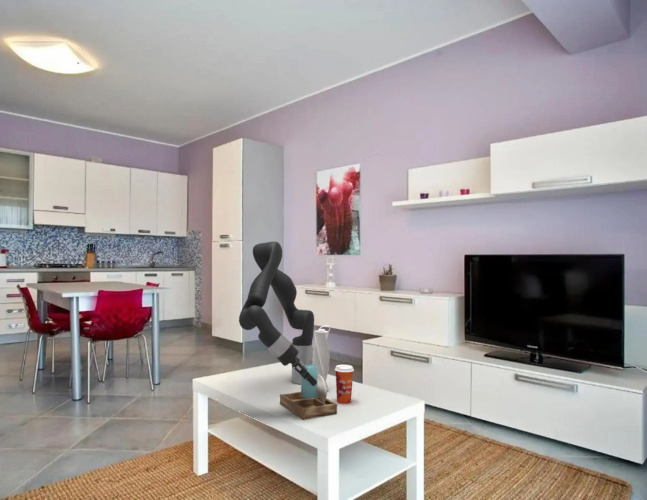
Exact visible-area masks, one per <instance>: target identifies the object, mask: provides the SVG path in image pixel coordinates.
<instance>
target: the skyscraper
mask: <svg viewBox="0 0 647 500" xmlns="http://www.w3.org/2000/svg"><path fill="white" fill-rule="evenodd" d="M323 327H328V328H329V329H328V330H326V329H324V328H323ZM331 328H332V326H331V325H328V324H327V325H321V326H320V327H319V328H318V330H315V329H314V331H313V337H314V343H313V348H312V361H313V364H315V365H318V375H320V376H322V378H323V379H324V381H325V384H326V390H327V393H328V392H329V391H330V390H329V388H328V384H327V380H328V379H327V378H328V375H329V368H330V359H331V358H330V348H329V342H328V340H329V335H330V330H331ZM310 364H311V363H310Z"/></svg>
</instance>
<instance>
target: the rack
mask: <svg viewBox="0 0 647 500" xmlns="http://www.w3.org/2000/svg"><path fill="white" fill-rule="evenodd" d="M327 395H328V392H327V390H326V384H325V381H324V379H323V378H322V376H320V375H318V383H317V397H315V398H303V397H301V391H296V392H289V393H283V394H282V393H281V394H279V404H280V405H281V406H282V407H284V408H285V409H287V410H288V411H290V412H291V413H292V414H294V415H295V416H297V417H298V418H300V419H301V420H303V421H304V420H310V419H315V418H320V417H327V416H332V415H333V416H334V415H337V414H338V404H337V403H336V402H334V401H332V400H330V399H329V398H327V397H328V396H327Z"/></svg>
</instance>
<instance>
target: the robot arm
mask: <svg viewBox="0 0 647 500" xmlns="http://www.w3.org/2000/svg"><path fill="white" fill-rule="evenodd" d="M252 256H253V260H254V261H255V263H256V265H257V266H258V268H259V269H260V270H261V271H260V272H259V273H258V275H257V276H256V277H255V278H254V279H253V281H252V282H251V285H250V287H249V291H248V294H247V298H246V301H245V303H244V304H243V305H242V308H241V311H240V313H239V317H238V318H239V319H238V323H239V325H240V327H241V328H242V329H243V330H246V331H251V330H254V329H255V328H257V329H258V331H259V333H258V335H257V336H258V340H260V342H261V343H262V344H263V345H264V346H265V347H266V348H267V349H268V351H269V352H270V353H271V354H272V355H273V356H274V357H275V358H276V359H277V360H278V362H280V363H281V365H282V366H283V367H284V366H288V365H289V364H290V365H291V383H293V384H298V385H301V376H302V377H303V378H304V379H305V380H307V381H308V382H309V383H310V384H311V385H312V386H315V385H316V384H317V381H316V380H315V379H314V378H313V377H312V376H311V374H310V373H309V372H308V371H307V368H306V367H305V366H304V364H310V363H311V364H313V340H314V331H315V329H314V327H315V314H314V312H313V311H312V310H309V309H299V308H297V307H296V305H295V301H296V297H297V294H298V292H297V291H298V290H297V287H296V285H295V284H294V281H293V280H292V278H291V277H290V276H289V275H287V274H286V273H284V272H283V271H282V270H280V269H278V268H279V266H280V264H281V262H282V258H283V248H282V246H281V244H280V242H278V241H266V242H262V243H261V242H260V243H257V244H255V245H254V246H253V247H252ZM270 286H271V287H270ZM270 288H271V289H272V290H273V293H274V294H275V296H276V297H277V299H278V301H279V303H280V305H281V307H282V309H283V311H284V314H285V316H286V319H287V322H288V323H289V326H290V327H291V328H293V329H294V330H298V331H299V330H301V334H300V335H298V336H295V337H293V338H292V342H291V341H290V340H289V339H288V338H286V337H285V336H284V335H283V334H282V333H281V332H280V331H279V330H278V329H277V328H276V327H275V325H274V324H273V322H272V320H271V319H270V317H269V315H268V313H267V312H266V311H265V309H264V308H263V307H264V306H265V304H266V302H267V299H268V294H269V290H270ZM304 372H306V373H307V374H306V375H305V376H304V375H303V373H304Z"/></svg>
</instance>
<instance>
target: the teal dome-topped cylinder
mask: <svg viewBox="0 0 647 500" xmlns="http://www.w3.org/2000/svg"><path fill="white" fill-rule="evenodd" d="M304 366H305V367H306V368H307V371H308V372H309V373H310V374H311V376H312V377H313V378H314V379H315V380H316V381H317V383H318V365H315V364H304ZM306 374H307V373H306V372H304V373H303V375H304V376H305V375H306ZM300 392H301V397H303V398H315V397H317V384H316V385H315V386H312V385H311V384H310V383H309V382H308V381H307V380H305V379H304V378H303V377H302V376H301V384H300Z"/></svg>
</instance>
